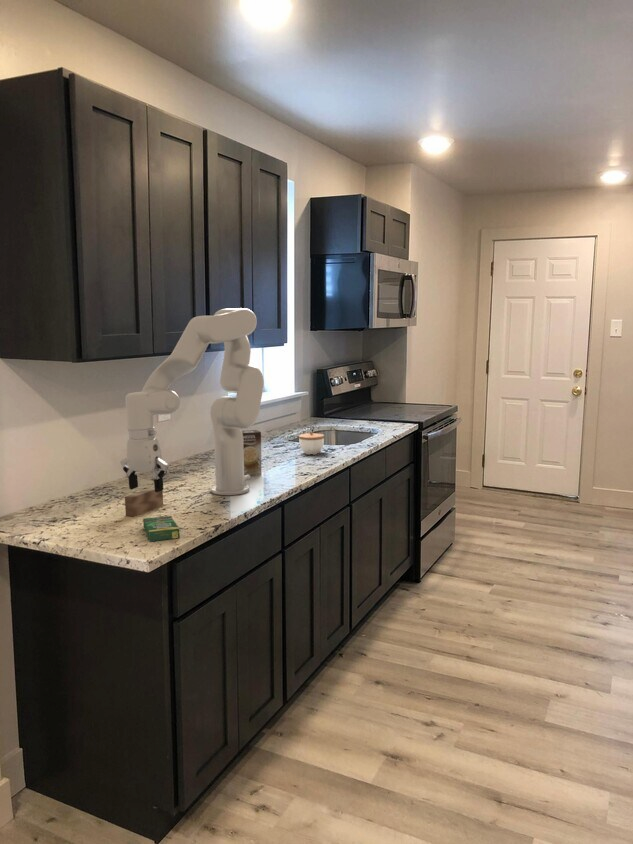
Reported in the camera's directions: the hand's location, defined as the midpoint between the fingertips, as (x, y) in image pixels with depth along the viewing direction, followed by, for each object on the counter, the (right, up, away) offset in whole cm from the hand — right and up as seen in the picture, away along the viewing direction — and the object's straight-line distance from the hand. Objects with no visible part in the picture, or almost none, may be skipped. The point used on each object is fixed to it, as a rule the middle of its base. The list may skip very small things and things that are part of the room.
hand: (146, 489), depth 204 cm
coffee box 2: (+26, +1, +47) cm, 54 cm away
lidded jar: (+49, +7, +85) cm, 99 cm away
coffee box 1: (+7, -7, -16) cm, 19 cm away
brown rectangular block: (0, -6, 0) cm, 7 cm away
